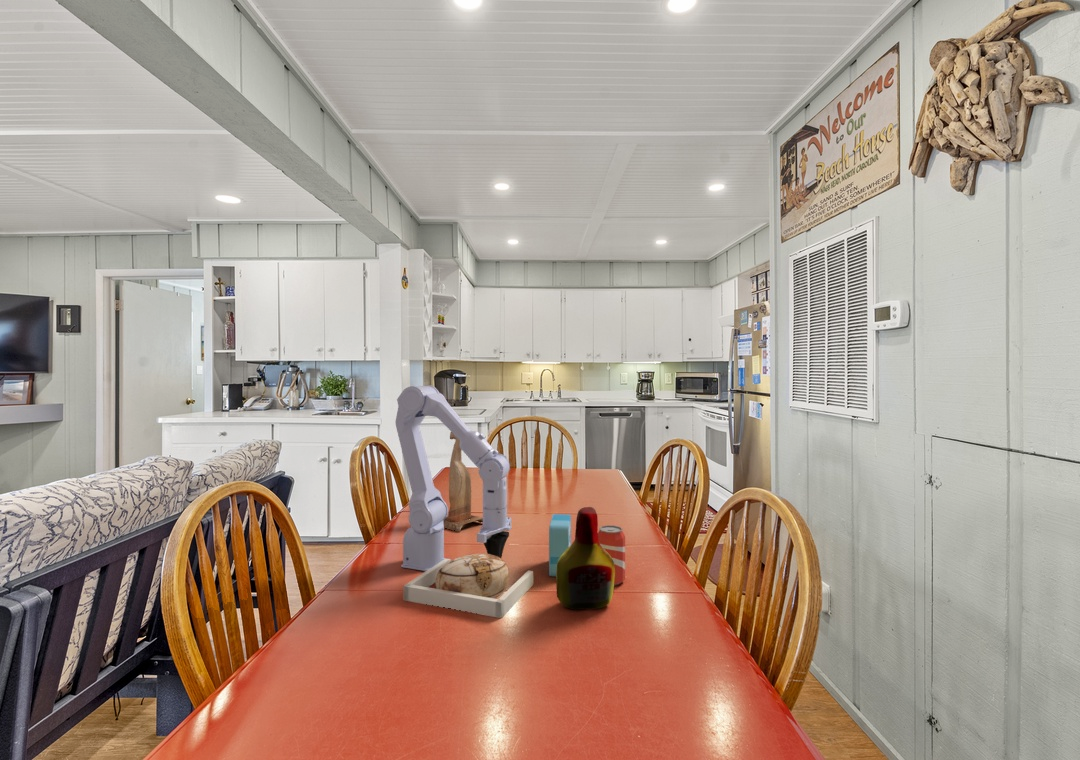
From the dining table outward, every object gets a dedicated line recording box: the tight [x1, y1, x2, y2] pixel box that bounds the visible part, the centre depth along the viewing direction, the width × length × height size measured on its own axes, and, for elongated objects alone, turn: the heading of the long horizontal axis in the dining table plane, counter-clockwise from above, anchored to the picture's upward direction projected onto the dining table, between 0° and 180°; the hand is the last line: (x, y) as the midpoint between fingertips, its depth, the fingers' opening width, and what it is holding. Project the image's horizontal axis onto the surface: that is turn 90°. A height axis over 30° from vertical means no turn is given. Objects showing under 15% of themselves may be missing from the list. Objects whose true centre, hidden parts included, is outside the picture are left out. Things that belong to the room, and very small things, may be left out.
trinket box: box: [435, 553, 510, 599], centre depth 112 cm, size 13×15×8 cm
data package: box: [548, 513, 572, 578], centre depth 125 cm, size 12×4×12 cm, turn 174°
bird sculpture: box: [443, 431, 483, 533], centre depth 161 cm, size 11×12×32 cm
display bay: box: [402, 558, 534, 619], centre depth 112 cm, size 22×17×3 cm
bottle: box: [555, 506, 615, 610], centre depth 105 cm, size 12×6×20 cm, turn 90°
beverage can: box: [598, 524, 626, 586], centre depth 118 cm, size 6×6×12 cm
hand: (495, 563), depth 123 cm, fingers closed
